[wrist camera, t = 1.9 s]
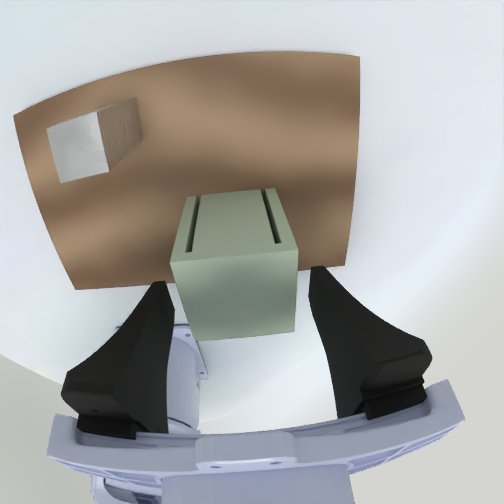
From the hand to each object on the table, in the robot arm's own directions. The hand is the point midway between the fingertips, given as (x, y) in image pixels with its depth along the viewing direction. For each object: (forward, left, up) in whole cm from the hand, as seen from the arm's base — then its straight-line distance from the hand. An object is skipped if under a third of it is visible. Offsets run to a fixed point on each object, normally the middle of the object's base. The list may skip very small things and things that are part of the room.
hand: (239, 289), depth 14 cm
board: (+3, +3, -7) cm, 8 cm away
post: (+8, +6, -6) cm, 12 cm away
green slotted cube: (0, 0, -6) cm, 6 cm away
